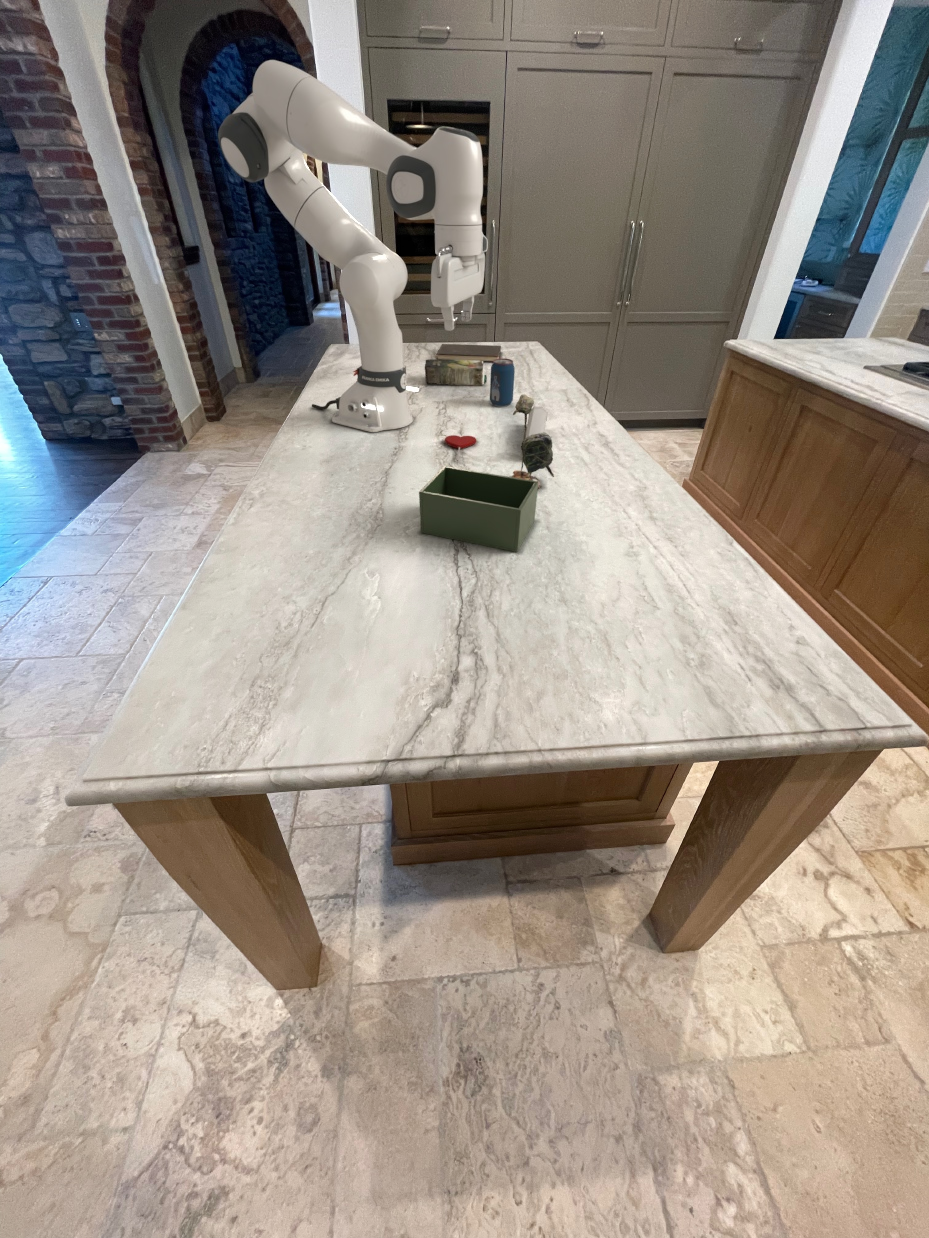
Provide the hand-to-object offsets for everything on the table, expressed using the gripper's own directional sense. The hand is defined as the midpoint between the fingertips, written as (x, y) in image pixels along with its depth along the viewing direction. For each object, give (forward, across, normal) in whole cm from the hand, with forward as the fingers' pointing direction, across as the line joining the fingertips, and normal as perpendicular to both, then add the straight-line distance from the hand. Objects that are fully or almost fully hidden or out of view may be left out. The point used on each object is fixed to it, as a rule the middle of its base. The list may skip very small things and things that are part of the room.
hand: (458, 325), depth 110 cm
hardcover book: (+29, +93, +31) cm, 102 cm away
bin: (+29, -28, -15) cm, 43 cm away
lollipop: (+29, +6, +2) cm, 30 cm away
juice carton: (+29, +60, +24) cm, 71 cm away
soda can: (+29, +44, +3) cm, 53 cm away
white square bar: (+29, +18, -14) cm, 37 cm away
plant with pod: (+29, -7, -19) cm, 36 cm away
